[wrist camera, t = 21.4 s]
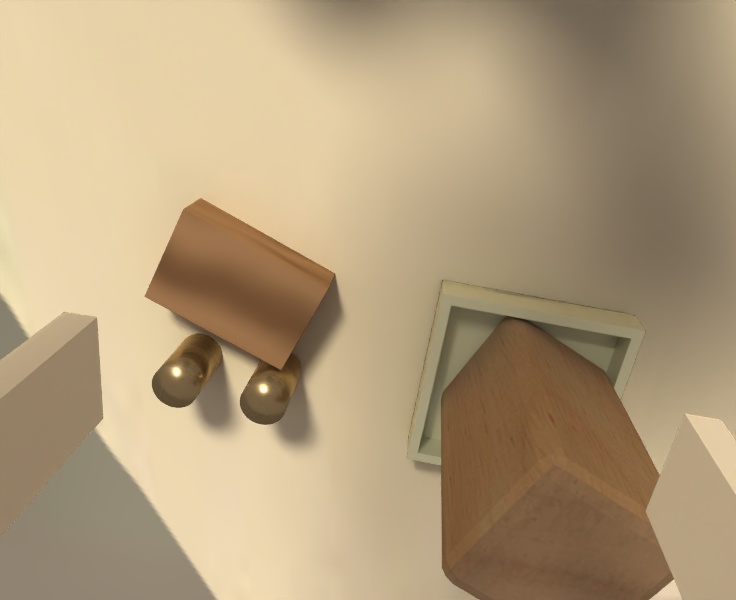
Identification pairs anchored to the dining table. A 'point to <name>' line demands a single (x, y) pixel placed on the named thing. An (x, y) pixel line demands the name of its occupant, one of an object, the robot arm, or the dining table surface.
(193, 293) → the wooden book-shaped slab
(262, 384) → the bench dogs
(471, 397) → the block
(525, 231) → the dining table surface
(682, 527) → the robot arm
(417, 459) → the tray
